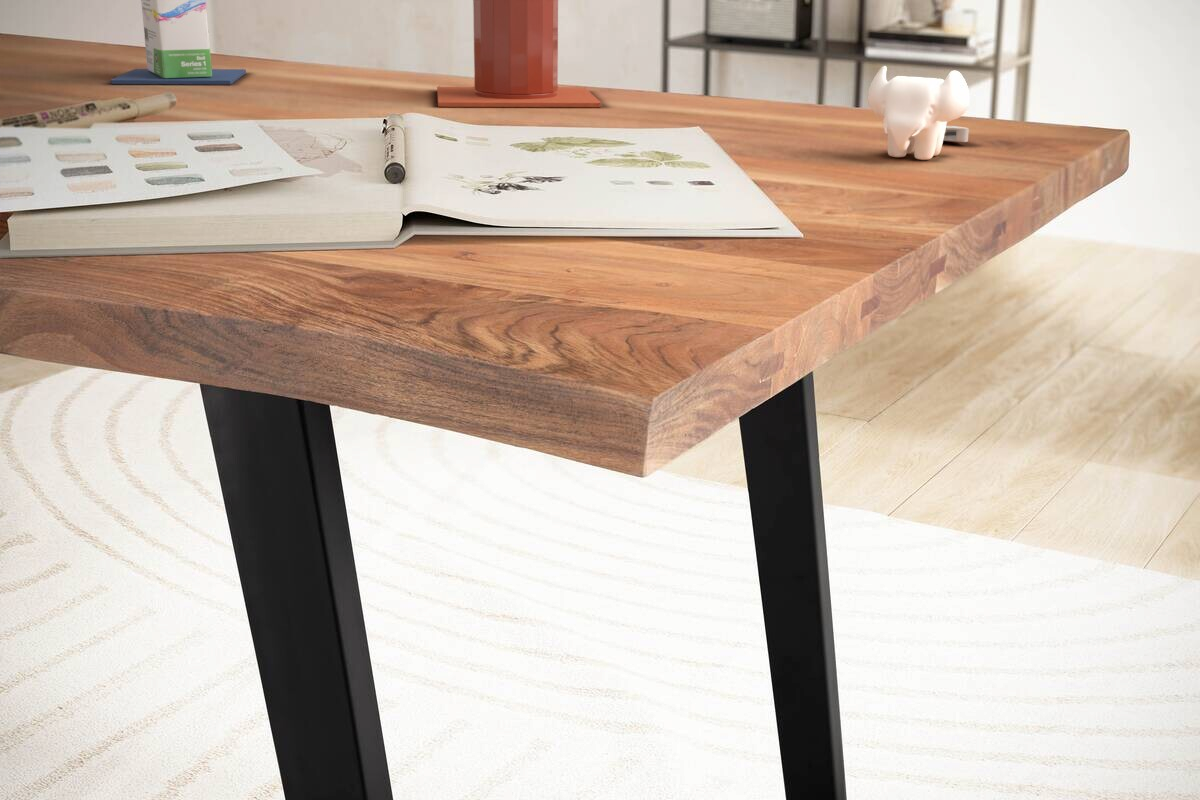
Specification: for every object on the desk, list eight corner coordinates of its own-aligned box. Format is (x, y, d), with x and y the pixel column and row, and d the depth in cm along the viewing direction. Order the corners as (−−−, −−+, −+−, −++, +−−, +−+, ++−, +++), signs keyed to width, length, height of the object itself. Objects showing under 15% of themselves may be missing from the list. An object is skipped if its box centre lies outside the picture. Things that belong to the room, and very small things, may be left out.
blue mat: (110, 84, 120) (110, 79, 120) (135, 72, 130) (135, 68, 130) (230, 84, 122) (230, 80, 121) (246, 73, 132) (245, 69, 132)
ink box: (214, 77, 123) (203, -52, 119) (161, 79, 121) (148, -53, 117) (196, 69, 130) (186, -53, 126) (146, 71, 128) (133, -54, 124)
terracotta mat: (438, 106, 109) (437, 102, 108) (437, 91, 120) (437, 86, 120) (601, 107, 110) (601, 102, 110) (585, 91, 122) (585, 87, 121)
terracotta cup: (476, 103, 111) (474, -5, 108) (473, 93, 118) (471, -8, 115) (560, 104, 112) (561, -4, 109) (553, 94, 119) (553, -7, 116)
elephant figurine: (846, 160, 85) (853, 69, 83) (879, 145, 92) (887, 60, 90) (947, 170, 83) (958, 75, 81) (974, 153, 89) (984, 66, 87)
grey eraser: (899, 138, 98) (900, 123, 97) (925, 137, 99) (926, 122, 98) (950, 143, 92) (951, 127, 92) (977, 142, 93) (978, 126, 93)
